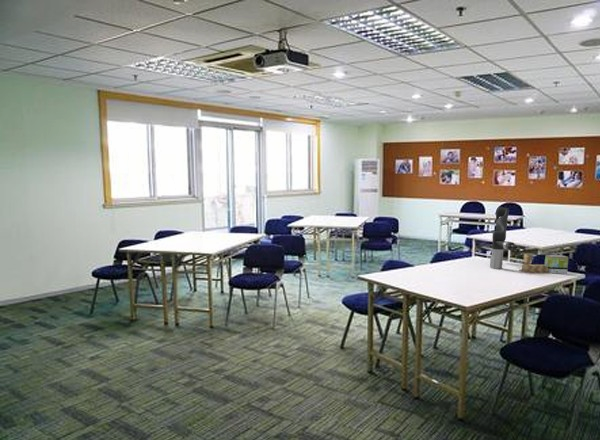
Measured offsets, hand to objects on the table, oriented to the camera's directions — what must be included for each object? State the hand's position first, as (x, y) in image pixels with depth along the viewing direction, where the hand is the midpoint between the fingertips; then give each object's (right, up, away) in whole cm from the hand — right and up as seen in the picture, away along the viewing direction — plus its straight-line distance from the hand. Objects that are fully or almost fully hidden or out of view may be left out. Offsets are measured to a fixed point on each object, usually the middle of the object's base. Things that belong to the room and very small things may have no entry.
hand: (519, 248), depth 415 cm
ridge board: (+3, -19, -20) cm, 28 cm away
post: (+1, -19, -10) cm, 21 cm away
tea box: (+22, -20, -18) cm, 35 cm away
